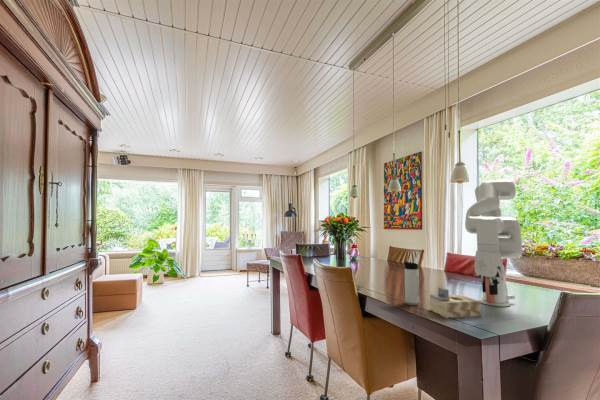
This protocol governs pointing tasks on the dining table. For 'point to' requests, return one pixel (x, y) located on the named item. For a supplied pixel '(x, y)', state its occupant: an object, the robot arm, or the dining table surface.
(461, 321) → the dining table surface
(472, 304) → the block
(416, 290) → the travel mug
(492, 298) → the pin
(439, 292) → the keeper
